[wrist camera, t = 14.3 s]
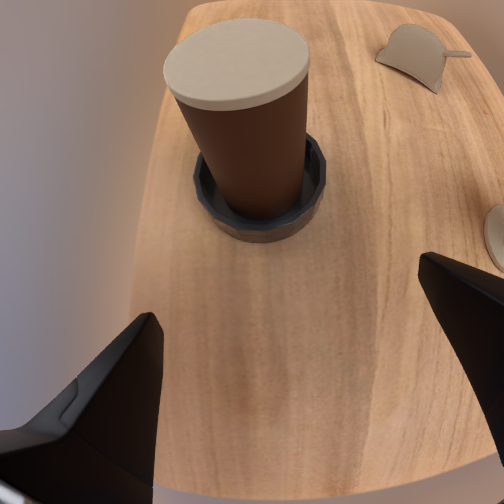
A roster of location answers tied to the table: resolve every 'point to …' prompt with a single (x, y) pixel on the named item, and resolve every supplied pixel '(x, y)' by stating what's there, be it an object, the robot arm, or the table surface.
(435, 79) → the beige curved piece
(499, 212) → the stand
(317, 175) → the bowl
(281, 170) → the brown lidded canister
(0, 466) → the robot arm
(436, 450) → the table surface
